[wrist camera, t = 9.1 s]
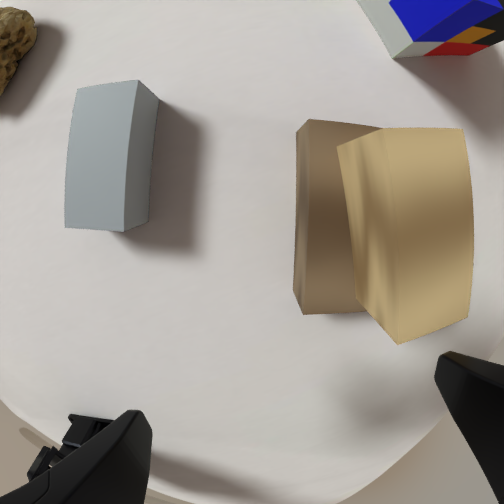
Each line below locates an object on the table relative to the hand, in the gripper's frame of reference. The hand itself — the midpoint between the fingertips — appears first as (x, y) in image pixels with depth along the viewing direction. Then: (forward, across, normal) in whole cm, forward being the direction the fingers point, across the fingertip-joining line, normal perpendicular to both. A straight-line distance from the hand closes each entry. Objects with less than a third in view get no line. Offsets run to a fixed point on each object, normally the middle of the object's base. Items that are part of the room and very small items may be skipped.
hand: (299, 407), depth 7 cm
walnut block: (+12, -6, -3) cm, 14 cm away
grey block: (+12, +8, -9) cm, 17 cm away
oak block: (+8, -6, -3) cm, 11 cm away
